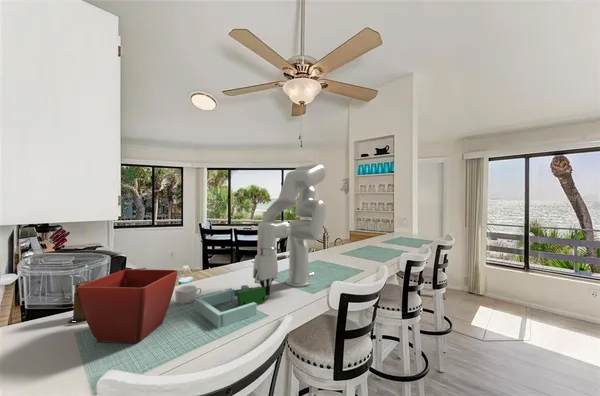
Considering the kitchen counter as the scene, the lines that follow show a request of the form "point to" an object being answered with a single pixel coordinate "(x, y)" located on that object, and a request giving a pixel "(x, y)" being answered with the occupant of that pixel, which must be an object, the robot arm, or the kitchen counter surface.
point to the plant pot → (127, 303)
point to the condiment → (77, 308)
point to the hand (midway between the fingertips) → (265, 295)
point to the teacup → (186, 294)
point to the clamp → (251, 296)
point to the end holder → (226, 317)
